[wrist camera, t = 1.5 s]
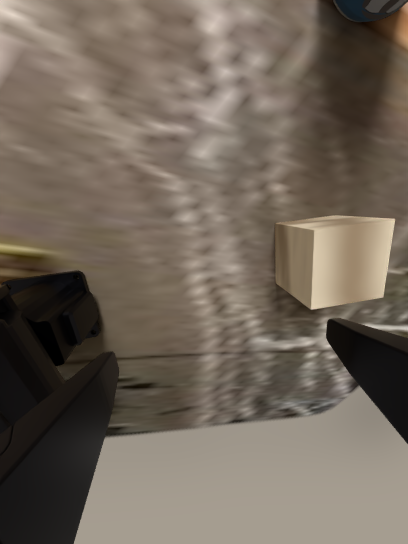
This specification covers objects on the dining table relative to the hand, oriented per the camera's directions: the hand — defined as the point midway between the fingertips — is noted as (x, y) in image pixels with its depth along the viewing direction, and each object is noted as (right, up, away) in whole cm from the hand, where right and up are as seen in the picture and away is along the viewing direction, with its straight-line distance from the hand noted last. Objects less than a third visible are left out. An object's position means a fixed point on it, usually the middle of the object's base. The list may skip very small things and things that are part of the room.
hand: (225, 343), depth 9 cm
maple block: (+9, +5, +13) cm, 16 cm away
